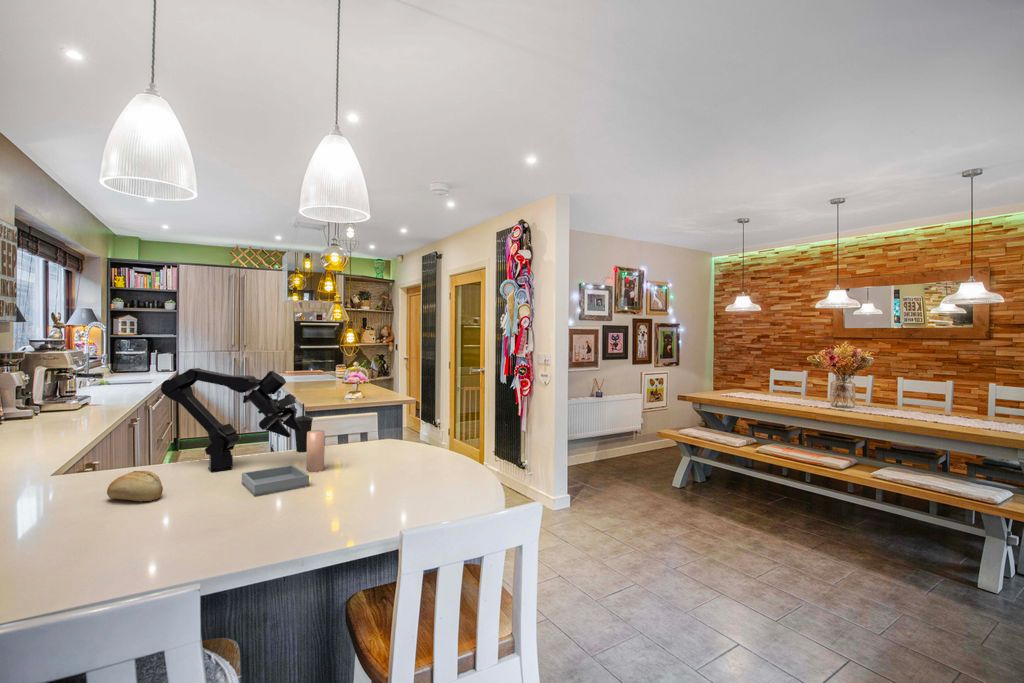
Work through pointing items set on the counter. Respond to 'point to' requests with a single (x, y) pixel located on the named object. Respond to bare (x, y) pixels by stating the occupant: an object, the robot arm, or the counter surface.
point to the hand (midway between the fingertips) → (295, 433)
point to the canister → (315, 450)
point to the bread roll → (136, 487)
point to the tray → (274, 480)
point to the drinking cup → (303, 431)
